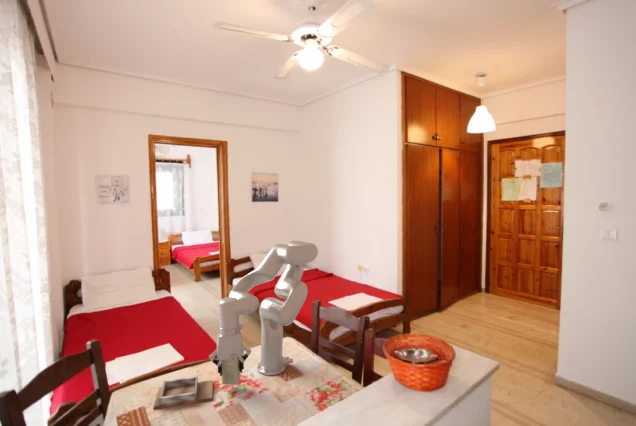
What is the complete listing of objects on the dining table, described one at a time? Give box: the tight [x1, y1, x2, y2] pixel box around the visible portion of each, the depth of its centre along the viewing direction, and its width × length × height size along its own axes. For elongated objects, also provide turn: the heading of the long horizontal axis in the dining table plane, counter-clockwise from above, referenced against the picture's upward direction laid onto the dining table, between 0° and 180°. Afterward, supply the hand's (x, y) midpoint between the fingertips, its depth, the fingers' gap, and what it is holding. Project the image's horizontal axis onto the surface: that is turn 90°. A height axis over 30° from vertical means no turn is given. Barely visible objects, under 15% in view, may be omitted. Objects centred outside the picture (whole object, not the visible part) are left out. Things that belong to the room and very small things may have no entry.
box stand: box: [153, 376, 214, 410], centre depth 126 cm, size 20×12×4 cm, turn 107°
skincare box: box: [221, 354, 242, 386], centre depth 130 cm, size 6×4×12 cm
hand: (231, 372), depth 130 cm, fingers closed on skincare box, 7 cm apart
